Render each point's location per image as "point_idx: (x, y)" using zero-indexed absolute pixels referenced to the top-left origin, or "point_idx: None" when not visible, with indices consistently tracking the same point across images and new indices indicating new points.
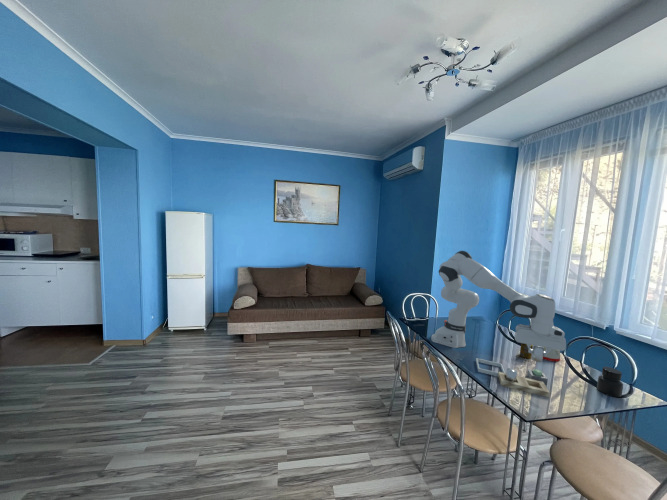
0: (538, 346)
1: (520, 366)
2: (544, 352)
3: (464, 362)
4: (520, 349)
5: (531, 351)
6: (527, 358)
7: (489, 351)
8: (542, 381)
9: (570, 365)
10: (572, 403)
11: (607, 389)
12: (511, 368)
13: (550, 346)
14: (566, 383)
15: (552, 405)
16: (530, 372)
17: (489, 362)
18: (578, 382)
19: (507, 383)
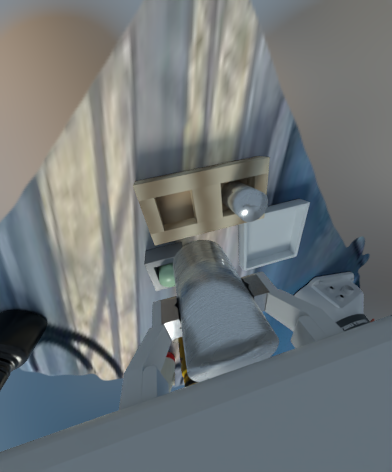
0: (233, 363)
1: None
2: (173, 325)
3: (315, 229)
4: None
5: (258, 284)
6: None
7: None
8: (156, 254)
9: (111, 362)
10: (74, 200)
11: (7, 323)
12: (251, 221)
13: (118, 461)
14: (107, 296)
15: (121, 136)
16: None
17: (267, 260)
18: (86, 317)
19: (251, 160)
